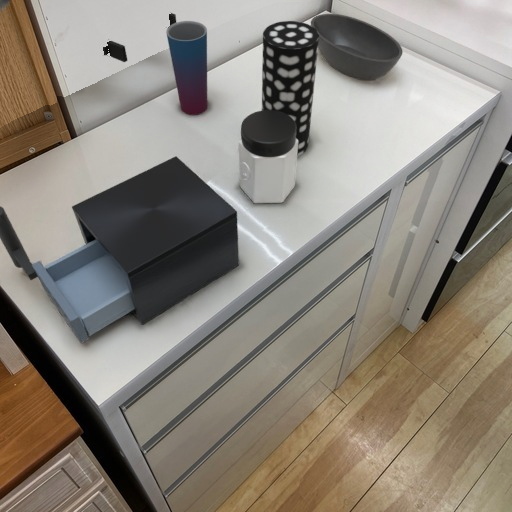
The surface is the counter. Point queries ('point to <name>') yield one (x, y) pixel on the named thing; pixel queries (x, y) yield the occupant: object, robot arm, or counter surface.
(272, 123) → the jar
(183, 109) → the cup
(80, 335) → the blue-grey drawer tray
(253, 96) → the counter surface
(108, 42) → the robot arm
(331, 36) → the bowl
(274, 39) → the spotted tube
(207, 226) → the drawer box
